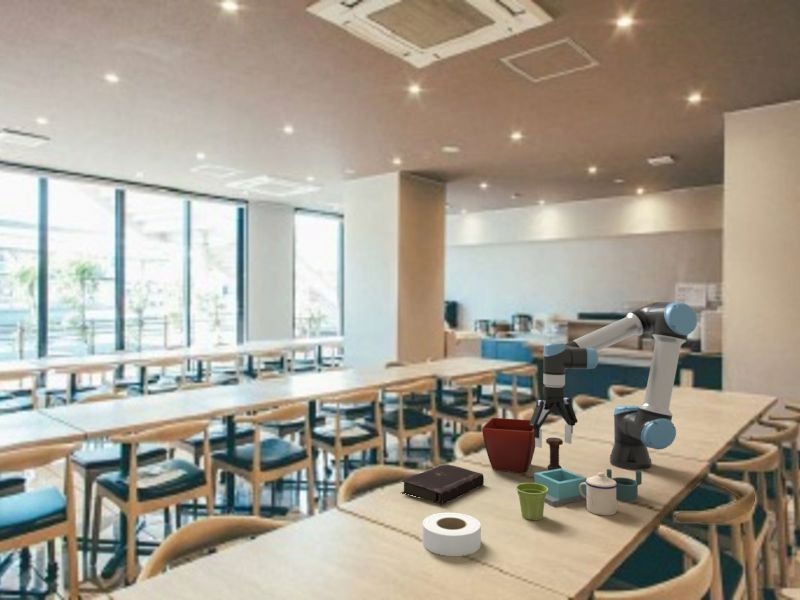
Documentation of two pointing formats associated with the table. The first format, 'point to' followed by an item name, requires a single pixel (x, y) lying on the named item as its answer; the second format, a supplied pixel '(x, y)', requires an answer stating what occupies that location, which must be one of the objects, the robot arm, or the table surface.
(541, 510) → the plant pot
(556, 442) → the bolt
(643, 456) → the robot arm
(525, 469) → the plant pot
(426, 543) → the roll of tape
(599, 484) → the teacup with lid
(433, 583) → the table surface
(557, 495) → the socket
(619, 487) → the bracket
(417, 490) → the diary
